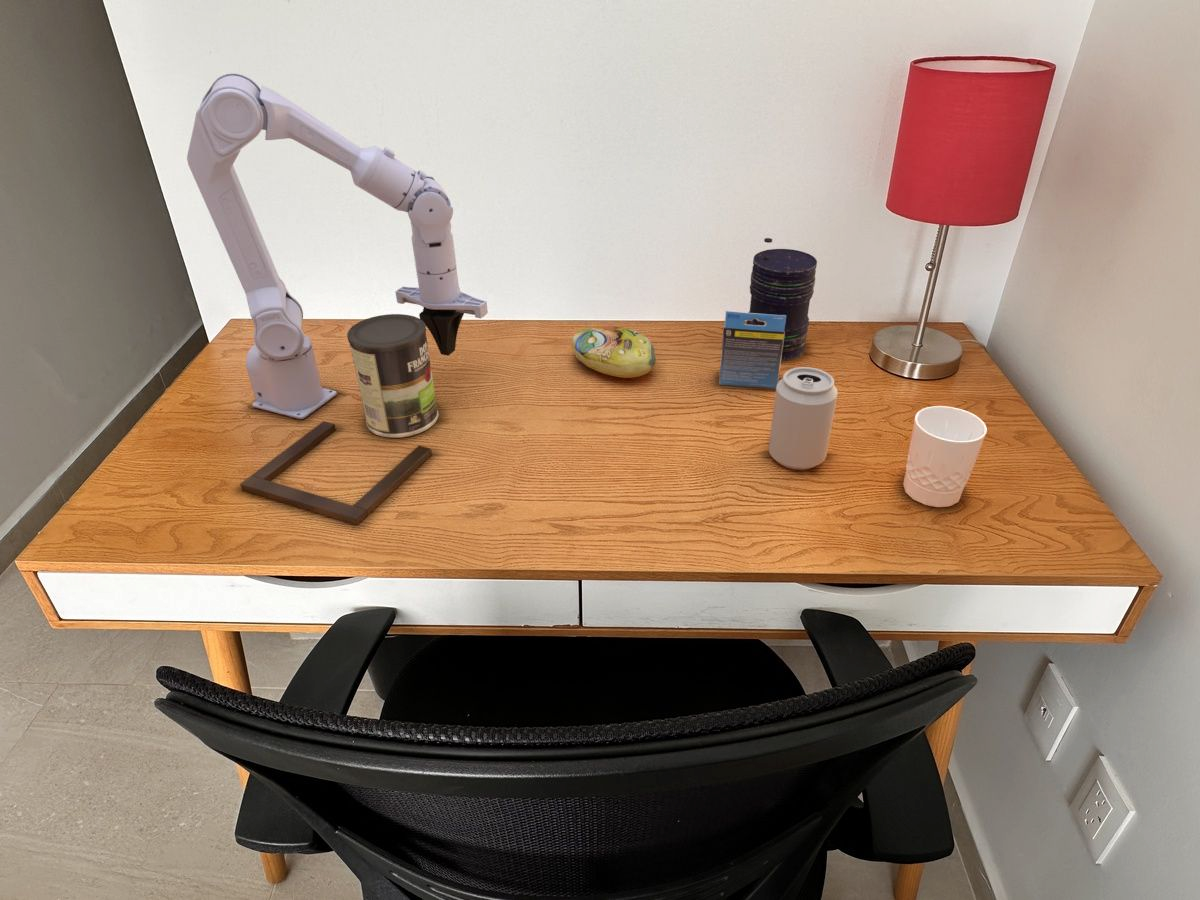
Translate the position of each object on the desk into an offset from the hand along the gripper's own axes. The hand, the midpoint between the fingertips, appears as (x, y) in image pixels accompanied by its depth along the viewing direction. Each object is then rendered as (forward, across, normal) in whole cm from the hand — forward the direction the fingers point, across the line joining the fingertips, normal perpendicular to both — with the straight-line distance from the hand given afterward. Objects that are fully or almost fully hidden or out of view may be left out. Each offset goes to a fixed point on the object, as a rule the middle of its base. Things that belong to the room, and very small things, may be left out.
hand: (447, 352), depth 121 cm
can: (+5, -54, +1) cm, 54 cm away
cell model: (+5, -22, -13) cm, 26 cm away
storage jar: (+5, -44, -29) cm, 53 cm away
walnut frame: (+4, 0, +26) cm, 26 cm away
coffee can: (+5, 0, +13) cm, 14 cm away
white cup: (+5, -71, +2) cm, 71 cm away
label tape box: (+5, -43, -16) cm, 46 cm away
